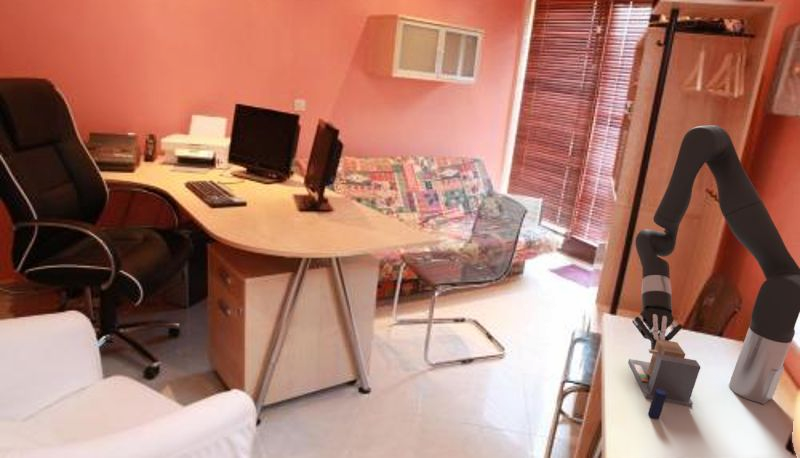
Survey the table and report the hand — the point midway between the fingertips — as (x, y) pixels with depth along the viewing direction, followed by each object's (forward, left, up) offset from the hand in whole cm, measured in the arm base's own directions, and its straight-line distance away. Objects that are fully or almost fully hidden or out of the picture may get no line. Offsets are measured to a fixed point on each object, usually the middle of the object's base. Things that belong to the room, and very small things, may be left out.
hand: (657, 355), depth 143 cm
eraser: (-11, +19, -6) cm, 22 cm away
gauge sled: (-3, +5, -4) cm, 7 cm away
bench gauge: (-3, +3, -5) cm, 7 cm away
